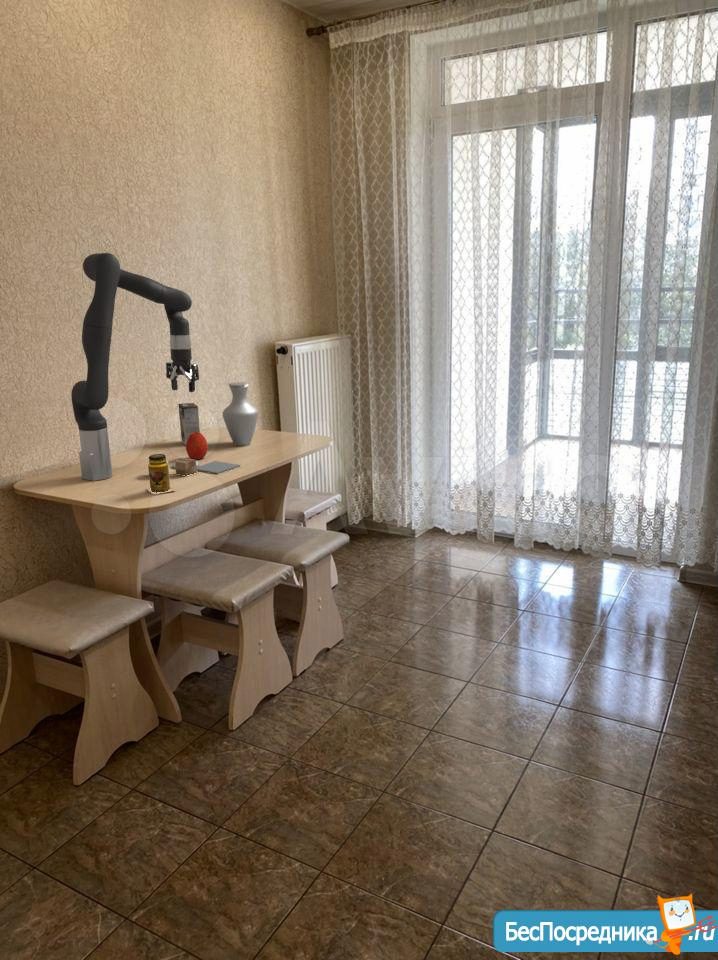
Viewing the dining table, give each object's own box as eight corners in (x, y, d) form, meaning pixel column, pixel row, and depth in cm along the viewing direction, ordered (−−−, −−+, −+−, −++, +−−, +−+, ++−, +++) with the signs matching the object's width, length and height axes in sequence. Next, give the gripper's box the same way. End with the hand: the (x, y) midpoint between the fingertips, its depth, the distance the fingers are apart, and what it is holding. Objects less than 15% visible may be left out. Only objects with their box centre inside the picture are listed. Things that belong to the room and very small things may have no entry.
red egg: (203, 461, 266) (201, 433, 263) (182, 461, 268) (180, 433, 265) (212, 456, 274) (210, 429, 271) (192, 455, 276) (189, 428, 273)
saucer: (186, 470, 255) (186, 467, 255) (168, 467, 259) (168, 463, 259) (204, 464, 262) (203, 461, 262) (186, 461, 267) (185, 458, 266)
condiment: (153, 495, 226) (150, 459, 223) (144, 489, 233) (141, 454, 229) (175, 491, 230) (172, 455, 226) (166, 485, 237) (163, 450, 233)
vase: (263, 440, 299) (261, 381, 293) (254, 448, 286) (251, 386, 279) (230, 439, 301) (227, 380, 294) (219, 447, 288) (215, 386, 281)
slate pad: (217, 474, 249) (217, 472, 249) (192, 469, 255) (192, 468, 255) (240, 466, 259) (240, 465, 259) (215, 462, 265) (215, 460, 265)
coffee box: (180, 441, 299) (177, 403, 295) (196, 440, 302) (193, 402, 297) (185, 446, 291) (182, 407, 287) (201, 444, 294) (198, 405, 289)
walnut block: (186, 476, 247) (185, 463, 246) (176, 475, 249) (174, 461, 248) (196, 473, 251) (195, 459, 250) (186, 471, 254) (185, 458, 252)
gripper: (159, 347, 265) (162, 390, 269) (187, 349, 258) (190, 393, 262) (173, 345, 271) (176, 388, 275) (202, 347, 264) (204, 391, 268)
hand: (183, 391), depth 269 cm, fingers open, 8 cm apart
